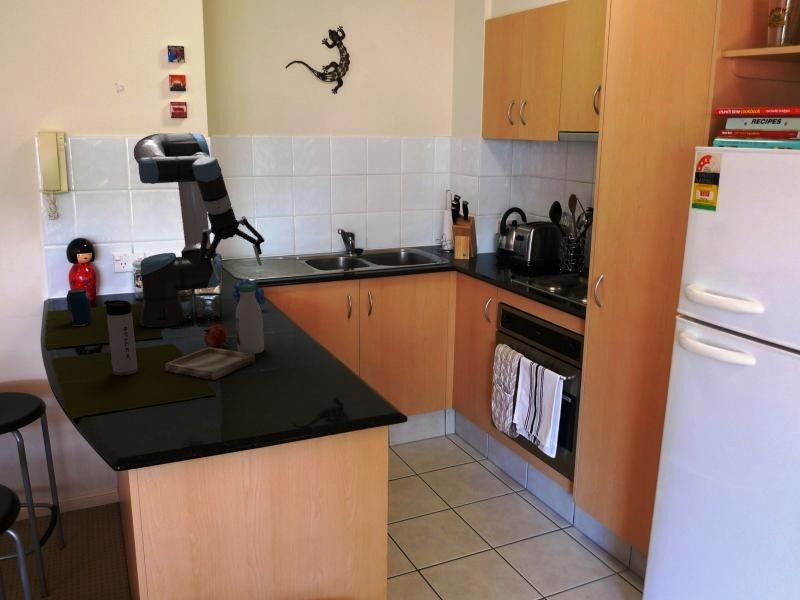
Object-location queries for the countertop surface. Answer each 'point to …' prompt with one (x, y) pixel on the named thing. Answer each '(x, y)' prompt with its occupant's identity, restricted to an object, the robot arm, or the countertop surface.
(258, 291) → the grapes
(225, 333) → the pomegranate
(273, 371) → the countertop surface
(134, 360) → the travel mug
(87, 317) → the soda can
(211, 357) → the wood tray
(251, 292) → the milk bottle
